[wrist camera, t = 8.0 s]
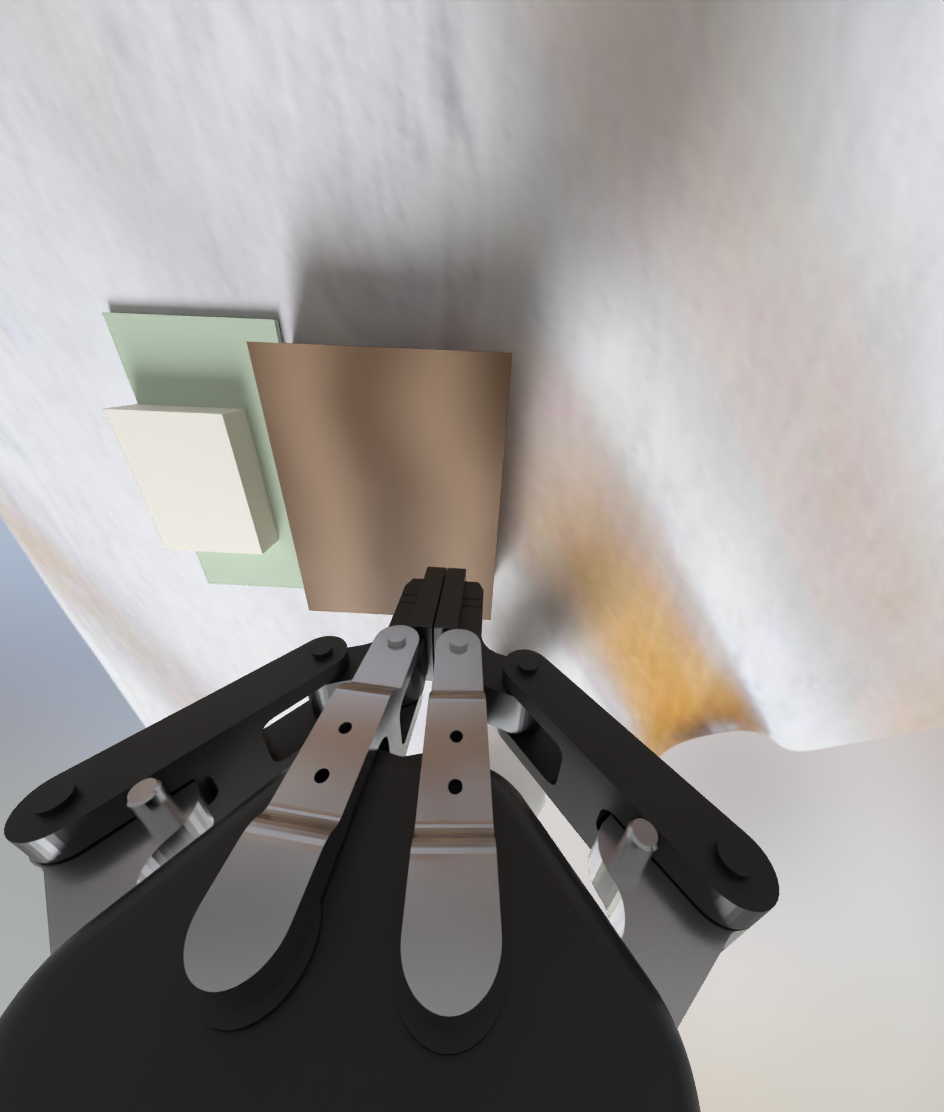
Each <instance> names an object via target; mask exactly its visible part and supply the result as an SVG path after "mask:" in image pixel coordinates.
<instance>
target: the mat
mask: <svg viewBox="0 0 944 1112" xmlns="http://www.w3.org/2000/svg"><path fill="white" fill-rule="evenodd" d="M102 313H103V316H104V318H105V321H106V323H107V326H108V328H109V331H110V333H111V336H112V339H113V341H114V344H115V346H116V349H117V351H118V354H119V356H120V359H121V362H122V364H123V367H124V369H125V372H126V374H127V377H128V379H129V382H130V385H131V387H132V390H133V392H134V395H135V397H136V400H137V402H138V404H146V405H168V406H191V407H213V408H235V409H246V413H247V416H248V420H249V424H250V428H251V432H252V436H253V440H254V444H255V448H256V452H257V455H258V459H259V463H260V467H261V471H262V475H263V479H264V483H265V487H266V491H267V494H268V498H269V502H270V506H271V510H272V514H273V518H274V522H275V526H276V530H277V533H278V537H279V540H278V541H277V542H276V543H275V544H274V545H272V546H271V547H270V548H269V549H268V550H267V551H266V552H265V553H263V554H244V553H224V552H204V551H196V553H197V556H198V558H199V561H200V564H201V566H202V569H203V571H204V574H205V576H206V579H207V581H208V583H210V584H229V585H248V586H268V587H287V588H304V585H303V581H302V577H301V573H300V568H299V564H298V560H297V555H296V551H295V547H294V543H293V538H292V534H291V530H290V526H289V521H288V517H287V513H286V508H285V504H284V500H283V496H282V491H281V487H280V483H279V479H278V474H277V470H276V466H275V461H274V457H273V453H272V449H271V444H270V440H269V436H268V432H267V427H266V423H265V419H264V415H263V410H262V406H261V402H260V397H259V393H258V389H257V385H256V380H255V376H254V372H253V368H252V363H251V359H250V355H249V350H248V346H247V342H246V341H248V342H271V343H282V338H281V333H280V328H279V323H278V320H271V319H248V318H224V317H201V316H177V315H154V314H130V313H107V312H102Z"/></svg>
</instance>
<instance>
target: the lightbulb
mask: <svg viewBox="0 0 944 1112" xmlns="http://www.w3.org/2000/svg"><path fill="white" fill-rule="evenodd" d="M487 726H488V743H489V760H490V769H491V770H493V771H495V772H497V773H498V774H500V775H501V776H502V777H504V778H505V779H506V780H507V781H509V782H510V783H511V784H512V785H513V786H514V787H515V788H516V789H517V790H518V792H519V793H520V794H521V795H522V797H523V798H524V799H525V801H526V802H527V804H528V805H529V807H530V808H531V809H532V811H533V812H534V814H535V815H536V817H537V818H539V817H540V815H541V812H542V810H543V807H544V804H545V799H546V793H545V792H544V790H543V789H542V788H541V787H540V785H539V784H538V783H537V782H536V780H535V779H534V778H533V777H532V775H531V774H530V773H529V772H528V771H527V769H526V768H525V767H524V766H523V764H522V763H521V762H520V761H519V759H518V758H517V757H516V756H515V754H514V753H513V752H512V751H511V749H510V748H509V747H508V746H507V744H506V743H505V742H504V741H503V739H502V738H501V737H500V735H499V733H498V730H497V727H494V726H492V725H489V724H487Z"/></svg>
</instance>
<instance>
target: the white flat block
mask: <svg viewBox="0 0 944 1112" xmlns="http://www.w3.org/2000/svg"><path fill="white" fill-rule="evenodd" d="M103 410H104V412H105V414H106V416H107V419H108V421H109V423H110V426H111V428H112V430H113V432H114V435H115V437H116V439H117V441H118V444H119V446H120V448H121V451H122V453H123V455H124V457H125V460H126V462H127V464H128V467H129V469H130V471H131V473H132V476H133V478H134V480H135V482H136V485H137V487H138V489H139V492H140V494H141V496H142V498H143V501H144V503H145V505H146V508H147V510H148V512H149V514H150V517H151V519H152V521H153V523H154V526H155V528H156V530H157V533H158V535H159V537H160V539H161V542H162V544H163V546H164V549H165V550H184V551H204V552H224V553H244V554H263V553H265V552H266V551H267V550H268V549H269V548H270V547H271V546H272V545H274V544H275V543H276V542H277V541H278V540H279V537H278V533H277V530H276V526H275V522H274V518H273V514H272V510H271V506H270V502H269V498H268V494H267V491H266V487H265V483H264V479H263V475H262V471H261V467H260V463H259V459H258V455H257V452H256V448H255V444H254V440H253V436H252V432H251V428H250V424H249V420H248V416H247V413H246V409H235V408H213V407H191V406H168V405H146V404H134V405H127V406H120V407H113V408H106V409H103Z"/></svg>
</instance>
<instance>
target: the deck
mask: <svg viewBox="0 0 944 1112" xmlns="http://www.w3.org/2000/svg"><path fill="white" fill-rule="evenodd" d="M246 342H247V346H248V350H249V355H250V359H251V363H252V368H253V372H254V376H255V380H256V385H257V389H258V393H259V397H260V402H261V406H262V410H263V415H264V419H265V423H266V427H267V432H268V436H269V440H270V444H271V449H272V453H273V457H274V461H275V466H276V470H277V474H278V479H279V483H280V487H281V491H282V496H283V500H284V504H285V508H286V513H287V517H288V521H289V526H290V530H291V534H292V538H293V543H294V547H295V551H296V555H297V560H298V564H299V568H300V573H301V577H302V581H303V585H304V590H305V594H306V598H307V602H308V607H309V610H312V611H331V612H350V613H369V614H388V615H394V612H395V610H396V607H397V605H398V603H399V600H400V597H401V596H402V592H403V590H404V587H405V585H406V584H407V583H409V582H410V581H411V580H412V579H413V578H417V579H424V576H425V573H426V570H427V567H445V568H463V569H466V581H468V582H479V583H480V585H481V587H482V588H483V590H484V595H483V614H482V619H483V620H491V607H492V595H493V583H494V570H495V558H496V545H497V533H498V521H499V508H500V496H501V484H502V471H503V459H504V447H505V434H506V422H507V410H508V397H509V385H510V372H511V360H512V353H502V352H479V351H456V350H433V349H409V348H386V347H363V346H340V345H317V344H294V343H271V342H248V341H246Z"/></svg>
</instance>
